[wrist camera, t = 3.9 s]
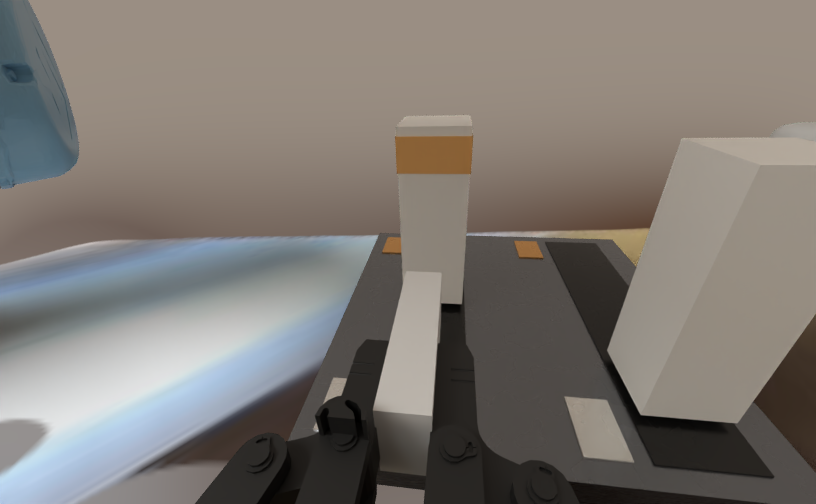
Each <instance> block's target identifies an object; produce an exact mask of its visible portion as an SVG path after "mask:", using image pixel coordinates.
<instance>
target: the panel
mask: <svg viewBox="0 0 816 504" xmlns="http://www.w3.org/2000/svg"><path fill="white" fill-rule="evenodd" d="M635 270H636V267H635V265H634V264H633V263H632V262H631V261H630V260H629V259H628V257H627V256H626V255H625V254H624V253H623V252H622V251H621V249H620V248H619V247H618V246H617V245H616V244H615V243H614V241H613V240H603V239H568V238H532V237H496V236H466V246H465V262H464V279H463V296H462V304H448V303H441V329H440V343H443V344H458V345H467V346H468V348H469V350H470V351H471V353H472V355H473V357H474V373H475V388H476V406H477V423H478V430H479V433H480V436H481V438H482V440H483V441H484V442H485V444H486V445H487V446H488V447H489V448H490V449H491V450H492V451H493V452H495V453H496V454H498V455H500V456H501V457H504V458H506V459H508V460H510V461H513V462H515V463H517V464H519V465H520V464H521V463H524V462H526V461H529V460H539V461H543V462H546V463H548V464H550V465H553V466H554V467H555V468H556V469H557V470H559V471H560V472H561V473H562V474H563V475H564V476H565V478H566V479H567V481H568V482H569V484H570V485H571V487H572V489H573V491H574V493H575V495H576V497H577V499H578V501H579V503H580V504H816V473H815V471H814V470H813V469H812V468H811V467H810V466H809V465H808V463H807V462H806V461H805V460H804V459H803V458H802V457H801V455H800V454H799V453H798V452H797V451H796V450H795V449H794V447H793V446H792V445H791V444H790V443H789V442H788V441H787V439H786V438H785V437H784V436H783V435H782V434H781V433H780V431H779V430H778V429H777V428H776V427H775V426H774V425H773V423H772V422H771V421H770V420H769V419H768V418H767V417H766V415H765V414H764V413H763V412H762V411H761V410H760V409H759V407H758V406H757V405H756V404H755V403H754V402H752V404H751V405H750V407H749V408H748V409H747V411H746V412H745V414H744V415H743V416H742V418H741V419H740V421H739V422H738V423H727V422H715V421H704V420H692V419H681V418H669V417H658V416H646V415H640V413H639V411H638V409H637V407H636V405H635V403H634V401H633V399H632V397H631V396H630V394H629V392H628V390H627V388H626V386H625V384H624V382H623V380H622V378H621V376H620V374H619V373H618V371H617V369H616V367H615V365H614V363H613V361H612V359H611V357H610V355H609V353H608V351H607V349H608V346H609V344H610V341H611V338H612V335H613V332H614V329H615V327H616V324H617V321H618V318H619V315H620V312H621V310H622V307H623V304H624V301H625V298H626V295H627V293H628V290H629V287H630V284H631V281H632V278H633V276H634V273H635ZM402 286H403V274H402V252H401V234H389V233H388V234H387V233H380V234H379V237H378V239H377V241H376V243H375V246H374V248H373V250H372V252H371V255H370V257H369V259H368V261H367V264H366V266H365V268H364V270H363V273H362V275H361V277H360V279H359V282H358V284H357V286H356V288H355V291H354V293H353V295H352V297H351V300H350V302H349V304H348V306H347V309H346V311H345V313H344V315H343V318H342V320H341V322H340V325H339V327H338V329H337V331H336V334H335V336H334V338H333V340H332V343H331V345H330V347H329V349H328V352H327V354H326V356H325V358H324V361H323V363H322V365H321V367H320V370H319V372H318V374H317V376H316V379H315V381H314V383H313V385H312V388H311V390H310V392H309V394H308V397H307V399H306V401H305V403H304V406H303V408H302V410H301V412H300V415H299V417H298V419H297V421H296V424H295V426H294V428H293V430H292V433H291V435H290V437H289V439H288V441H291V440H295V439H300V438H304V437H308V436H311V435H314V434H316V433H317V432H319V430H318V426H317V422H316V419H315V414H316V412H317V411H318V409H319V408H320V406H322V405H323V404H324V403H325V402H326V401H328V400H329V399H332V398H334V397H337V396H341V395H342V392H343V389H344V386H345V383H346V380H347V378H348V375H349V372H350V369H351V366H352V364H353V360H354V357H355V354H356V351H357V349H358V348H359V347H360V346H361V345H362V344H363V343H364V341H365V340H366V339H371V340H386V341H390V336H391V332H392V328H393V324H394V320H395V316H396V311H397V307H398V303H399V299H400V295H401V291H402ZM376 483H377V484H379V485H387V486H396V487H404V488H413V489H421V490H425V483H426V476H422V475H414V474H405V473H396V472H388V471H380V464H379V467H378V472H377V478H376Z"/></svg>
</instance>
